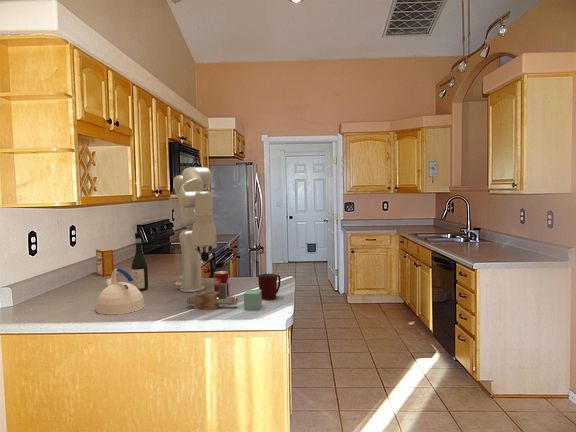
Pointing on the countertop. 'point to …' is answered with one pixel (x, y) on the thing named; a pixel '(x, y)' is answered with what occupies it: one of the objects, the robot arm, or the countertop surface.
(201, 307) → the guide sleeve
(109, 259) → the baking soda box
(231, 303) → the slide bolt
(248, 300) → the socket block
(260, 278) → the mug
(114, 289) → the kettle
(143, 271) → the wine bottle
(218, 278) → the soda can
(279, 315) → the countertop surface
